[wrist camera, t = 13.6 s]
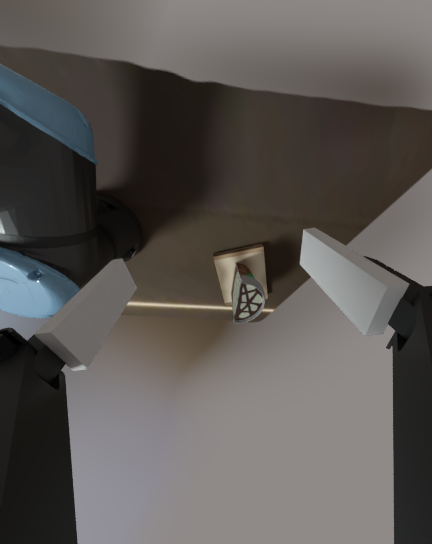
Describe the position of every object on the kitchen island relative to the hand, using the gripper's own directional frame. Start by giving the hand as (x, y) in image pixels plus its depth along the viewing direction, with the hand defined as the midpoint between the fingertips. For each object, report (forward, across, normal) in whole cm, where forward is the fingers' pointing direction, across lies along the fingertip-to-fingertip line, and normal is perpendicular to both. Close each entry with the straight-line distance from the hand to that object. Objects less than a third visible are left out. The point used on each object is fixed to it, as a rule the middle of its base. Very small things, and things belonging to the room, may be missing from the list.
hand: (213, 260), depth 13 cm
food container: (+26, +5, -20) cm, 33 cm away
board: (+28, +5, -20) cm, 34 cm away
